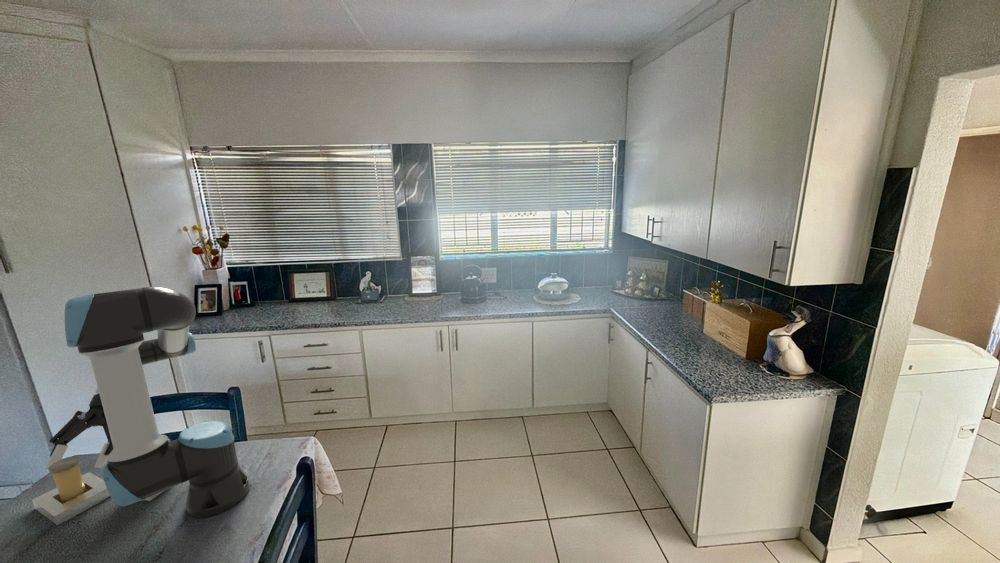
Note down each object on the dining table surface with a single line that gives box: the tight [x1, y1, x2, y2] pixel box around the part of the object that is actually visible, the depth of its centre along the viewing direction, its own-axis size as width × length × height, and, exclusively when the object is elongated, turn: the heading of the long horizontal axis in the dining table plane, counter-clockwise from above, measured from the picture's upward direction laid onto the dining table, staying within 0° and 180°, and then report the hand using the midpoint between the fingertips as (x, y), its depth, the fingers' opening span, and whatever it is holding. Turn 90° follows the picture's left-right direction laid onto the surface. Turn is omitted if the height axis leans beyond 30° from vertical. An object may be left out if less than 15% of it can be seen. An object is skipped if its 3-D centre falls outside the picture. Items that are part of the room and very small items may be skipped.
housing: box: [31, 472, 111, 526], centre depth 111 cm, size 14×12×3 cm
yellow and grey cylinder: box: [48, 455, 87, 504], centre depth 110 cm, size 6×6×13 cm
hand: (74, 468), depth 112 cm, fingers open, 13 cm apart
